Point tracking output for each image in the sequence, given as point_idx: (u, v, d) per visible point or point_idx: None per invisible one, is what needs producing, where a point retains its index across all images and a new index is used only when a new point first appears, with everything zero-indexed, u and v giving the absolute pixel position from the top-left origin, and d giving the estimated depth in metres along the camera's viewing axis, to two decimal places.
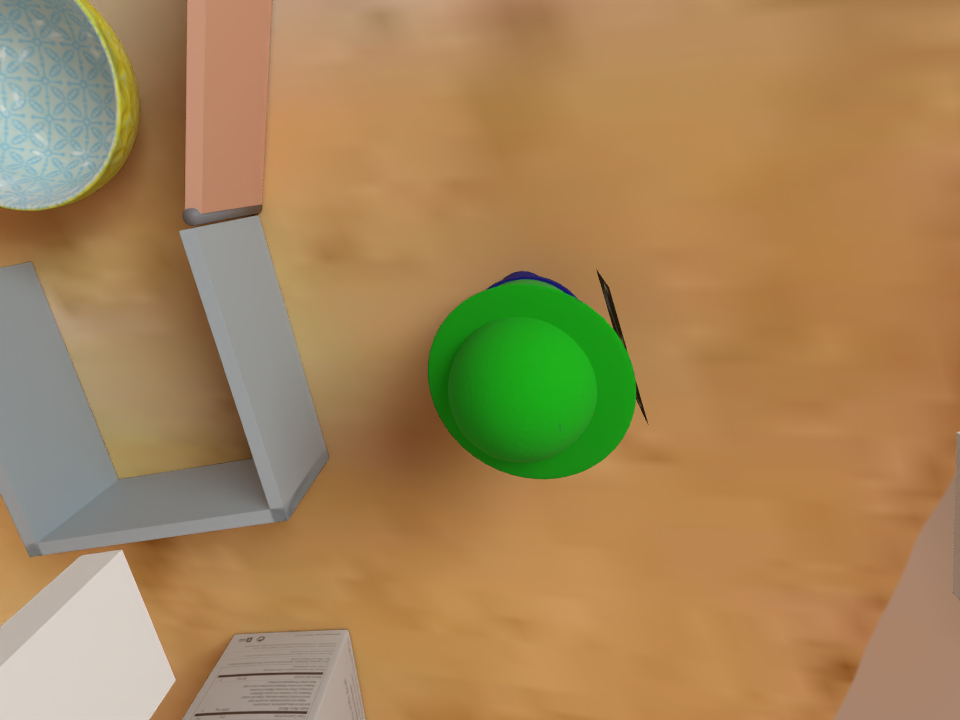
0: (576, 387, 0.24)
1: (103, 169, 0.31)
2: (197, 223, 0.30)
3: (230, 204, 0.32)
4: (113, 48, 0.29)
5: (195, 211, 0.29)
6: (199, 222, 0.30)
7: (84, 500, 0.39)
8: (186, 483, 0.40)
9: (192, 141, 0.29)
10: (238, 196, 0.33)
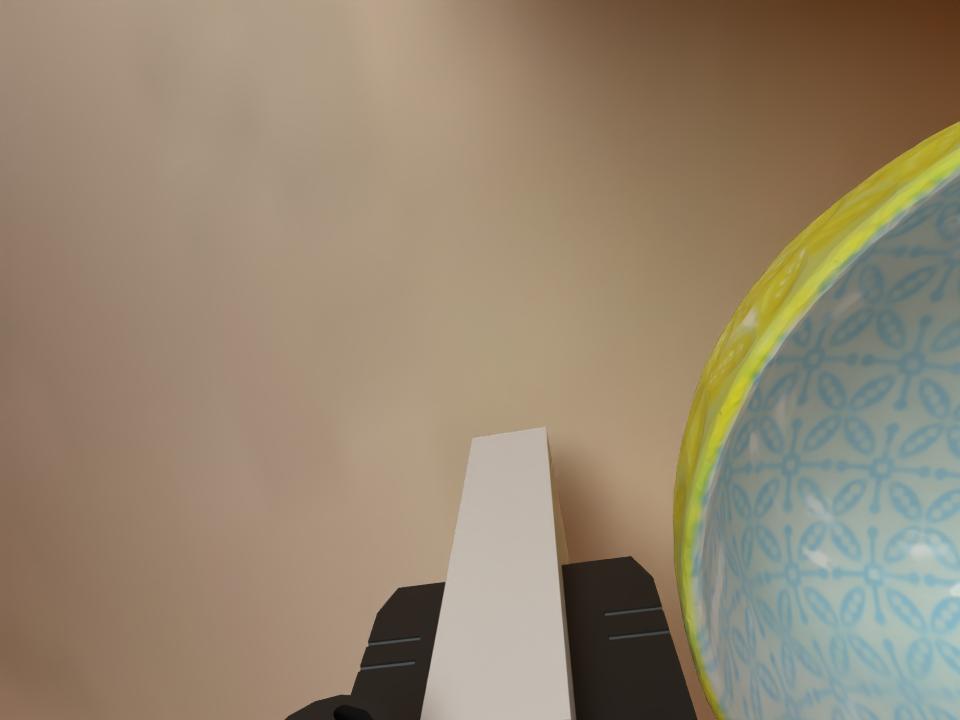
0: None
1: None
2: None
3: None
4: None
5: None
6: None
7: None
8: None
9: None
10: None
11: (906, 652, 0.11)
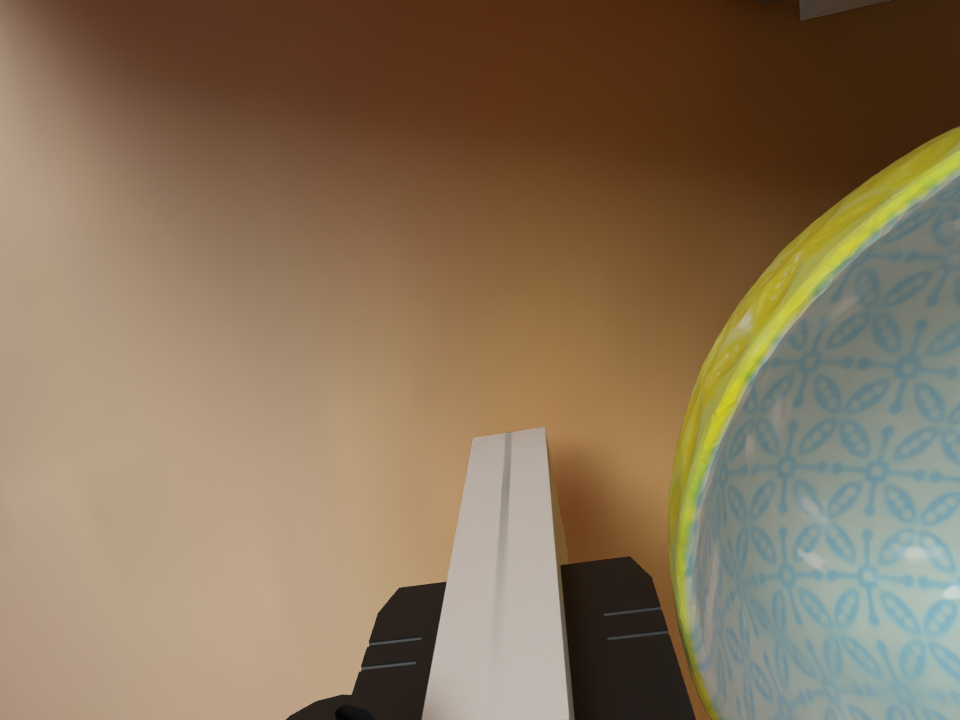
0: None
1: None
2: None
3: None
4: None
5: None
6: None
7: None
8: None
9: None
10: None
11: (899, 654, 0.11)
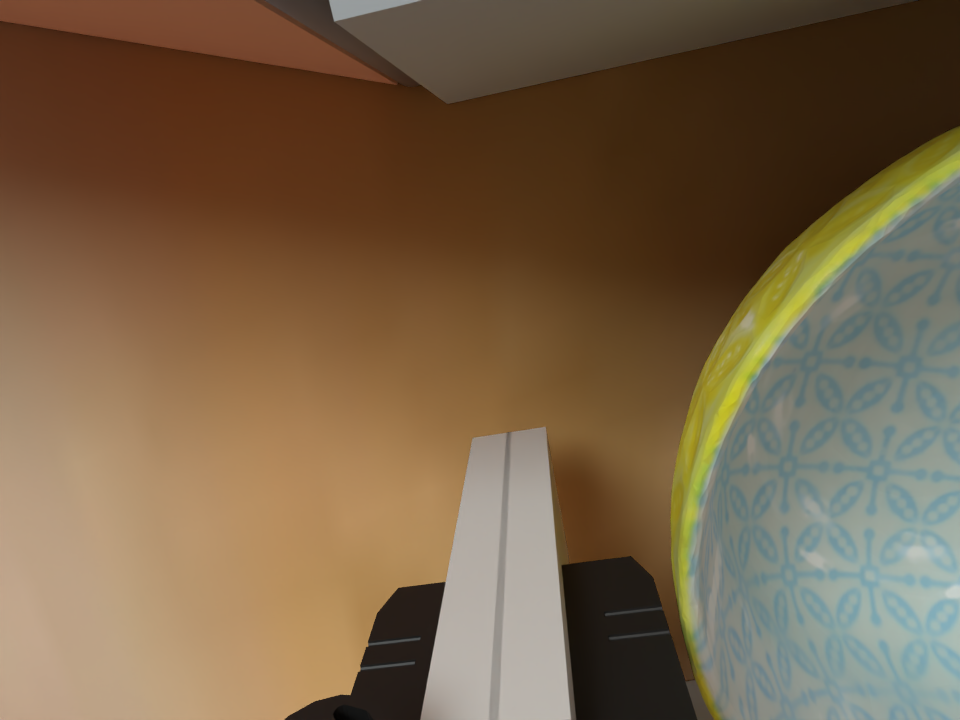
0: None
1: None
2: None
3: None
4: None
5: None
6: None
7: None
8: None
9: None
10: None
11: (901, 653, 0.11)
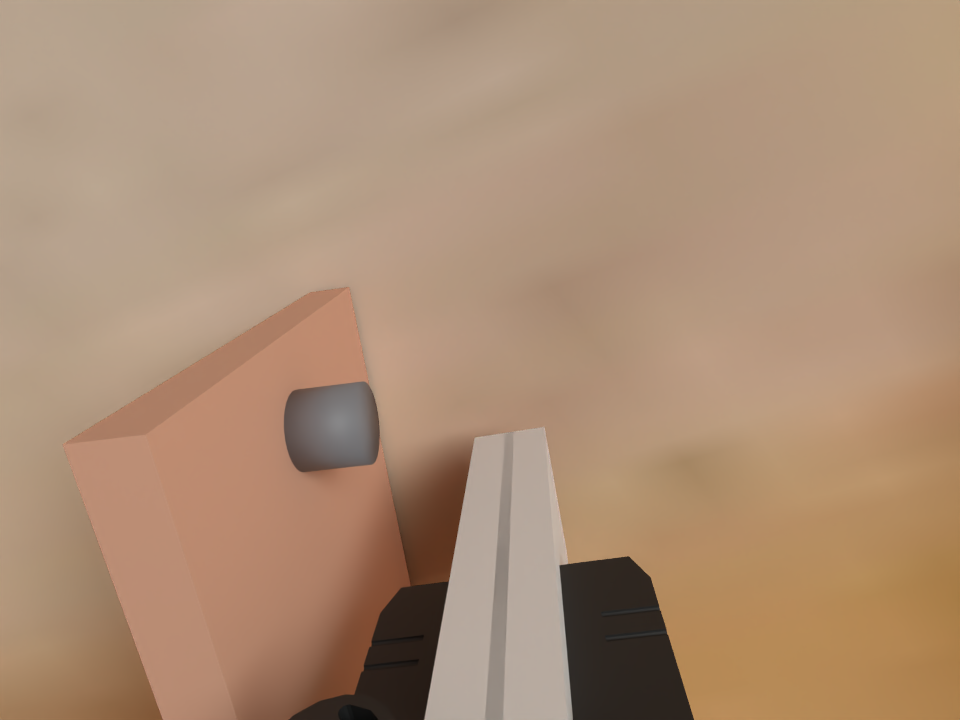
0: None
1: None
2: None
3: None
4: None
5: None
6: None
7: None
8: None
9: None
10: None
11: None
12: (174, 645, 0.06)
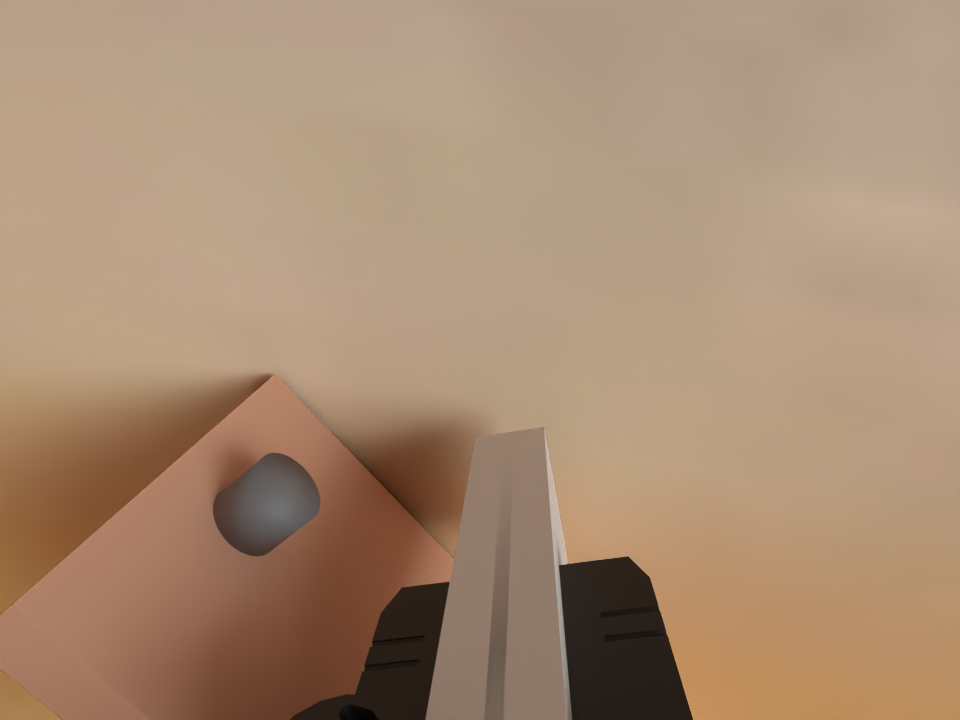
0: None
1: None
2: None
3: None
4: None
5: None
6: None
7: None
8: None
9: None
10: None
11: None
12: None
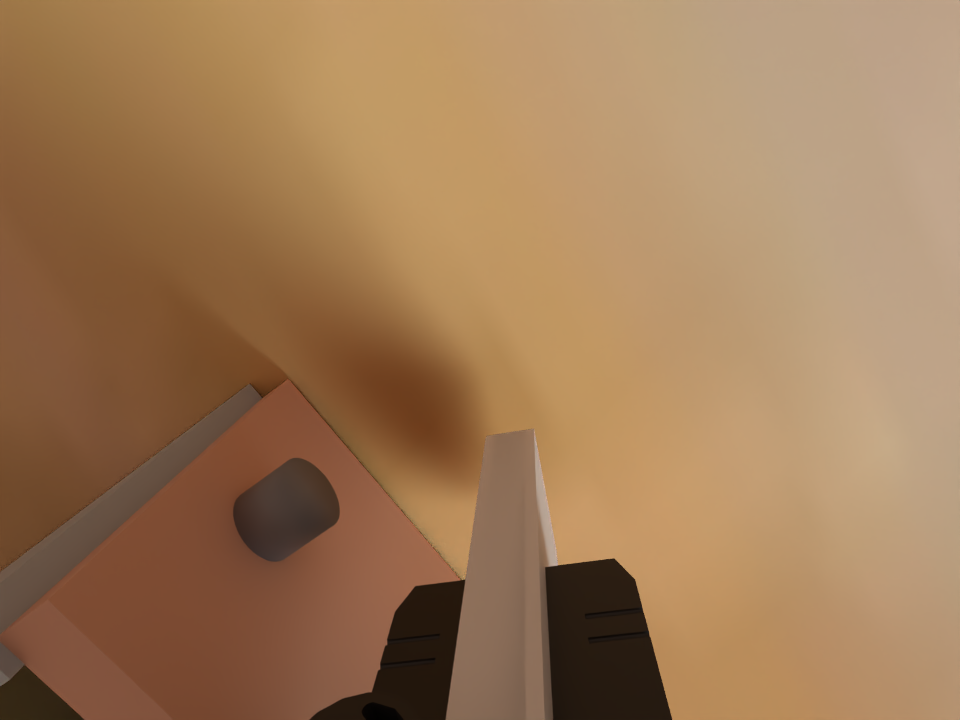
0: None
1: None
2: None
3: None
4: None
5: None
6: None
7: None
8: None
9: None
10: None
11: None
12: None
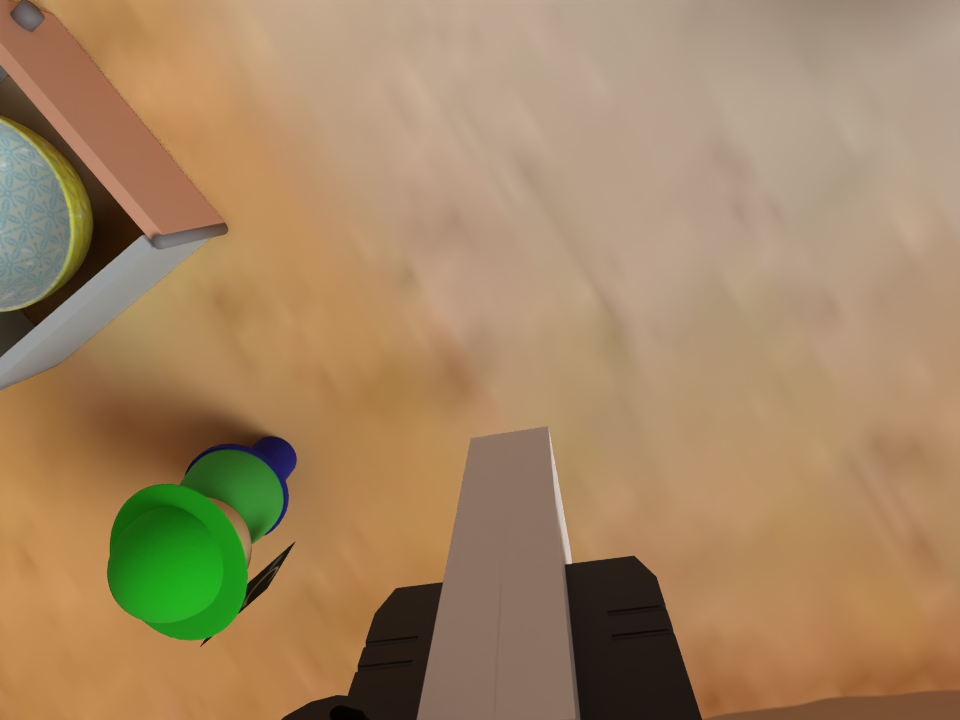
0: (185, 613, 0.33)
1: None
2: (166, 243, 0.34)
3: (188, 225, 0.37)
4: (60, 284, 0.37)
5: (157, 235, 0.34)
6: (167, 241, 0.34)
7: None
8: None
9: (115, 190, 0.33)
10: (192, 218, 0.37)
11: None
12: None
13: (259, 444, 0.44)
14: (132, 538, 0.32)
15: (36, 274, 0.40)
